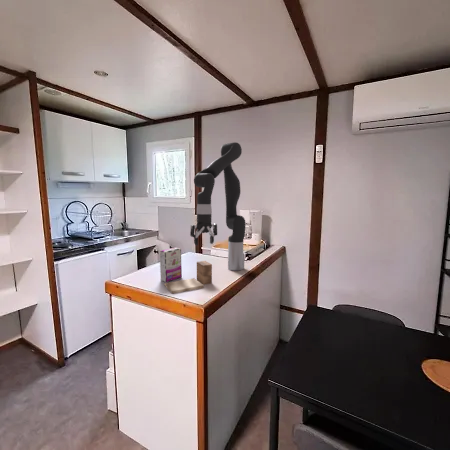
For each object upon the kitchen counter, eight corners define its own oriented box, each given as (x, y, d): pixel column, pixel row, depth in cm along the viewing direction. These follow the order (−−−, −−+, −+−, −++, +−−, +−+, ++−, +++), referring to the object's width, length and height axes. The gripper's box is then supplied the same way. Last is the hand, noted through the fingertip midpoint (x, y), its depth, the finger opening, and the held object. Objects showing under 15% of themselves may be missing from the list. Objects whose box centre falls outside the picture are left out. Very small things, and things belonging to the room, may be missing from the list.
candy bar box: (175, 275, 144) (175, 247, 142) (182, 277, 141) (181, 248, 139) (159, 280, 135) (159, 250, 133) (166, 282, 132) (165, 251, 130)
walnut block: (205, 278, 139) (205, 260, 138) (211, 283, 132) (211, 264, 131) (196, 280, 137) (196, 261, 136) (203, 284, 130) (203, 265, 129)
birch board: (194, 280, 136) (194, 278, 136) (203, 287, 126) (203, 285, 126) (164, 285, 128) (164, 283, 128) (172, 293, 118) (172, 291, 118)
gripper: (213, 212, 137) (213, 242, 139) (188, 212, 130) (188, 244, 132) (219, 213, 131) (219, 244, 133) (194, 213, 124) (194, 246, 125)
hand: (204, 244), depth 132 cm, fingers open, 8 cm apart
